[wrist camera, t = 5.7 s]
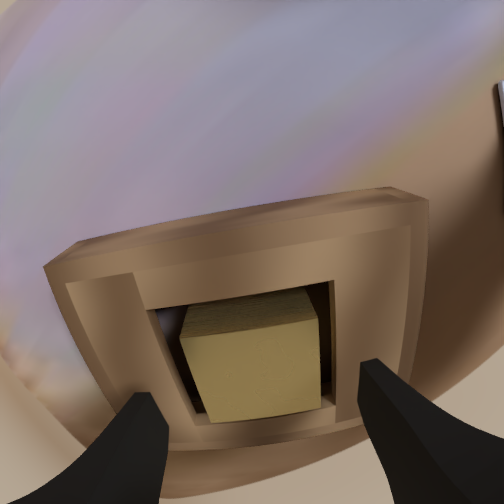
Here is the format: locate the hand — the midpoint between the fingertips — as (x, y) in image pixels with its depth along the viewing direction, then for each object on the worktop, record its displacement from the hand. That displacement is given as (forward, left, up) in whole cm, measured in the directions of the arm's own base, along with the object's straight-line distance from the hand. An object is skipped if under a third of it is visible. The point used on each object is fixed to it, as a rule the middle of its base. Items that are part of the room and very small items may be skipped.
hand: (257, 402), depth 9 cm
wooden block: (0, 0, -5) cm, 5 cm away
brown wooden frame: (0, 0, -5) cm, 5 cm away
